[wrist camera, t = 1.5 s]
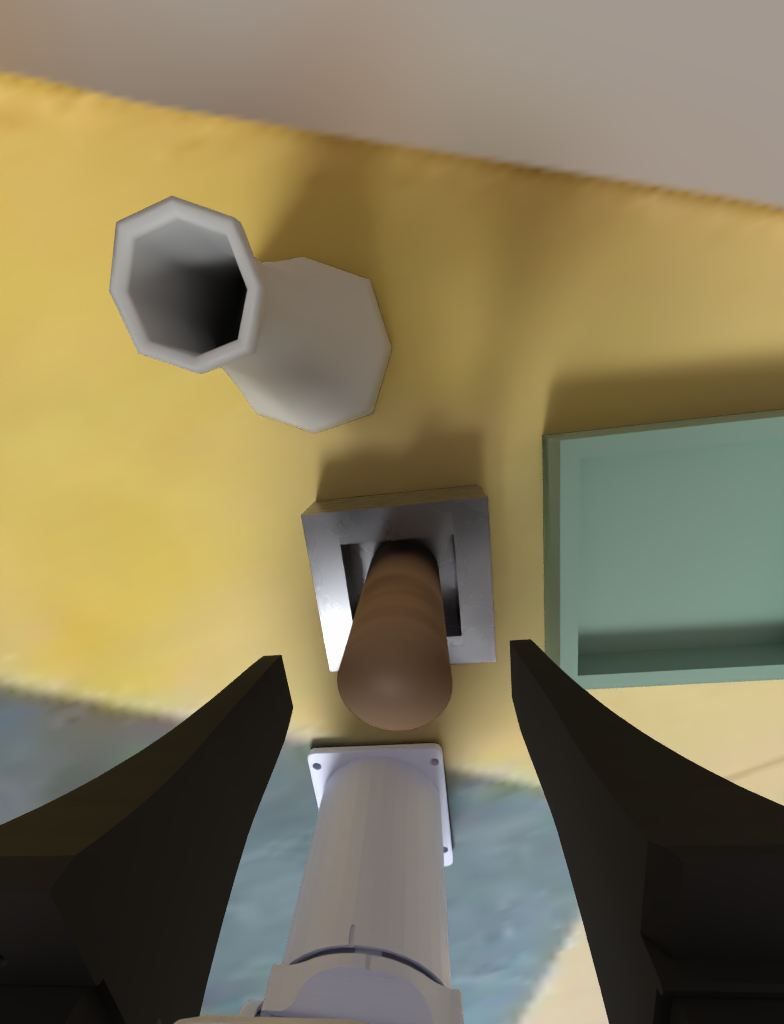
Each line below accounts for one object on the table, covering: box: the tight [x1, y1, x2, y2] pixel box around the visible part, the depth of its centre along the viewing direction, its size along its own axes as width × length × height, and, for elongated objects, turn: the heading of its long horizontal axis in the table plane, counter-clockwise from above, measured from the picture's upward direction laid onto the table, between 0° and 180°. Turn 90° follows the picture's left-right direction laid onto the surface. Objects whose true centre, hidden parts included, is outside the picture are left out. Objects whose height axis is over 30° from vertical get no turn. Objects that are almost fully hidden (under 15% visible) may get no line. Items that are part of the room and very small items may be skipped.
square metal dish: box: [301, 485, 496, 671], centre depth 19 cm, size 8×8×2 cm
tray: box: [542, 409, 784, 690], centre depth 18 cm, size 12×12×2 cm
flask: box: [109, 196, 392, 434], centre depth 13 cm, size 7×7×10 cm
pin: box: [337, 540, 452, 731], centre depth 16 cm, size 4×4×8 cm
